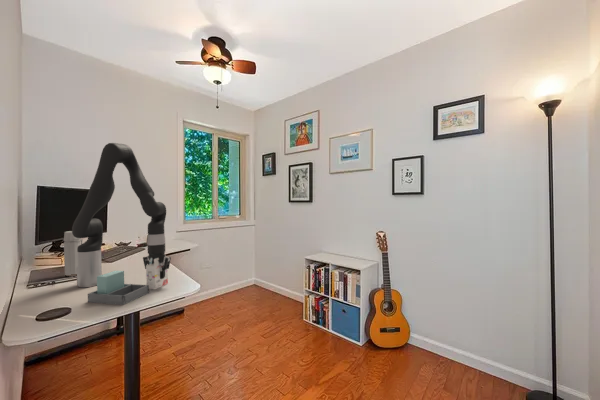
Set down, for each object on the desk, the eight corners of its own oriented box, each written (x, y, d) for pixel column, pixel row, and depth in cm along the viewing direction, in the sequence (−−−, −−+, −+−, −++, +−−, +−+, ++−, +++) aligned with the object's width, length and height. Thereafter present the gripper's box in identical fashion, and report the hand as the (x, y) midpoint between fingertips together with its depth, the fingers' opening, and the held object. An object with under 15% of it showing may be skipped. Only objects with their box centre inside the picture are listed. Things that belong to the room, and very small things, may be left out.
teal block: (97, 300, 108) (96, 276, 108) (115, 292, 116) (115, 270, 116) (106, 300, 107) (106, 277, 107) (124, 293, 115) (123, 271, 115)
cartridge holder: (87, 303, 106) (87, 293, 106) (116, 291, 119) (116, 283, 119) (123, 306, 103) (123, 296, 103) (148, 293, 115) (148, 285, 115)
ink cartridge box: (159, 283, 129) (158, 254, 129) (168, 284, 128) (167, 254, 128) (146, 289, 121) (145, 258, 120) (155, 290, 120) (154, 259, 119)
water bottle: (67, 278, 140) (65, 232, 140) (62, 276, 144) (61, 231, 144) (87, 274, 148) (86, 230, 147) (82, 272, 152) (81, 230, 152)
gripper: (137, 244, 122) (138, 279, 122) (163, 244, 119) (164, 281, 119) (149, 241, 129) (150, 275, 129) (174, 242, 126) (175, 276, 127)
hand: (157, 277), depth 124 cm, fingers closed on ink cartridge box, 5 cm apart
